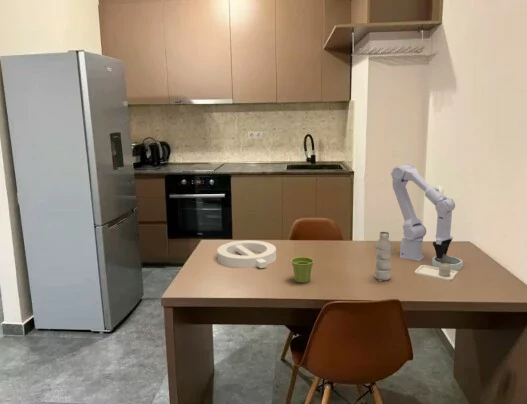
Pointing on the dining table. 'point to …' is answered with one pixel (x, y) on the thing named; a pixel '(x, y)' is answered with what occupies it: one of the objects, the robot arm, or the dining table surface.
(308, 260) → the plant pot
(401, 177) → the robot arm
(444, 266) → the grey rounded cylinder
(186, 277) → the dining table surface
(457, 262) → the bowl
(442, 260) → the slate capsule
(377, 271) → the plastic bottle
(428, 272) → the parts tray
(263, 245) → the white circle with bar
